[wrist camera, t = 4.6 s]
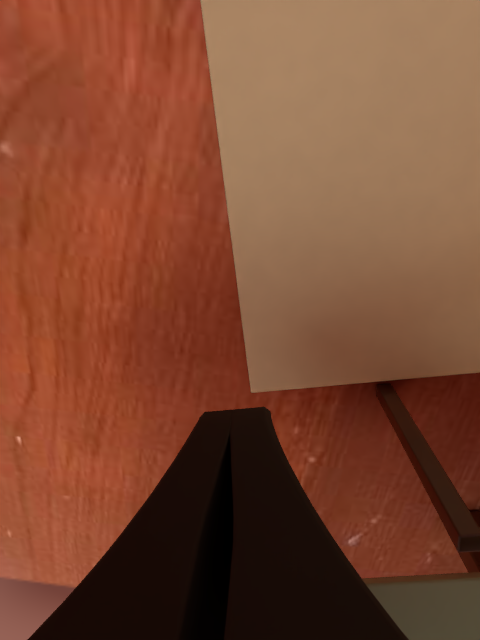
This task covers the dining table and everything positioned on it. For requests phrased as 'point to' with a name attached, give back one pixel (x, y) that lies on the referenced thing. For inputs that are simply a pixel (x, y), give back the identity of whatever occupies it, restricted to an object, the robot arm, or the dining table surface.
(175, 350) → the dining table surface
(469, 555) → the stand
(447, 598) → the tray
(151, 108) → the dining table surface
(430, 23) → the mat
